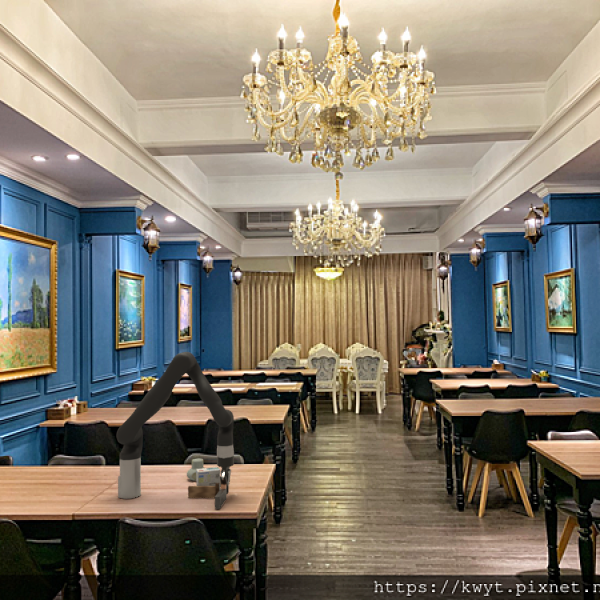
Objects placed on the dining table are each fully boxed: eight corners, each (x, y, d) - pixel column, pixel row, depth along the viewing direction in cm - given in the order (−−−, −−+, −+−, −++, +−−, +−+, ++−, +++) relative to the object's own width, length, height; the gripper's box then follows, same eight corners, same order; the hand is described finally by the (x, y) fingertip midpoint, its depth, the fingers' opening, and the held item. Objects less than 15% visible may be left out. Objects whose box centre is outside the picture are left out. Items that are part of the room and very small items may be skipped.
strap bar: (214, 509, 227) (214, 493, 227) (222, 498, 240) (222, 484, 241) (219, 509, 226) (219, 493, 227) (226, 498, 240) (226, 484, 241)
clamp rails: (188, 498, 244) (188, 483, 244) (198, 486, 262) (198, 473, 262) (218, 498, 243) (218, 483, 243) (227, 486, 261) (227, 473, 261)
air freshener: (207, 476, 280) (207, 457, 281) (209, 480, 273) (209, 460, 273) (185, 478, 277) (185, 459, 278) (187, 482, 269) (187, 462, 270)
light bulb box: (218, 489, 257) (218, 466, 258) (221, 493, 251) (220, 469, 251) (195, 491, 254) (195, 468, 254) (197, 495, 247) (197, 471, 248)
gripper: (220, 451, 252) (220, 489, 251) (213, 458, 239) (214, 498, 238) (236, 451, 251) (236, 489, 250) (230, 458, 238) (231, 498, 237)
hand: (225, 493), depth 244 cm, fingers closed
